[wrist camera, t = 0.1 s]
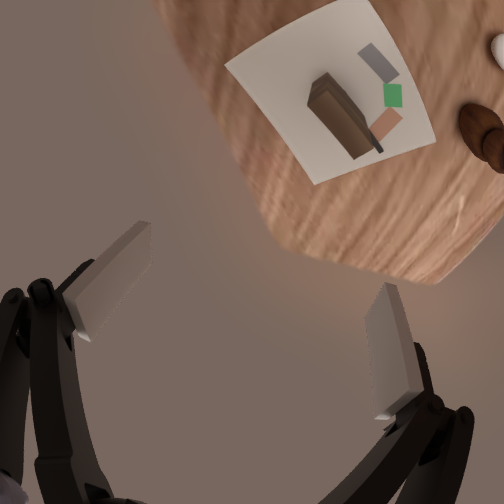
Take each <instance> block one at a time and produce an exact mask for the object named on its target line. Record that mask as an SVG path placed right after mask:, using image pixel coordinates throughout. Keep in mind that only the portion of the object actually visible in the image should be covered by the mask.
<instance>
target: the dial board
mask: <svg viewBox="0 0 504 504" xmlns="http://www.w3.org/2000/svg"><path fill="white" fill-rule="evenodd" d="M225 67H226V68H227V69H228V70H229V71H230V72H231V74H232V75H233V76H234V77H235V78H236V79H237V81H238V82H239V83H240V84H241V86H242V87H243V88H244V89H245V90H246V92H247V93H248V94H249V95H250V97H251V98H252V99H253V100H254V102H255V103H256V104H257V105H258V107H259V108H260V109H261V111H262V112H263V113H264V114H265V116H266V117H267V118H268V120H269V121H270V122H271V124H272V125H273V126H274V128H275V129H276V130H277V132H278V133H279V134H280V136H281V137H282V139H283V140H284V141H285V143H286V144H287V146H288V147H289V148H290V150H291V151H292V153H293V154H294V156H295V157H296V158H297V160H298V161H299V163H300V164H301V166H302V167H303V169H304V170H305V172H306V173H307V175H308V176H309V178H310V179H311V181H312V182H313V184H314V185H316V184H318V183H321V182H323V181H326V180H329V179H331V178H334V177H337V176H339V175H342V174H345V173H347V172H350V171H353V170H356V169H358V168H361V167H364V166H367V165H370V164H372V163H375V162H378V161H381V160H384V159H387V158H389V157H392V156H395V155H398V154H401V153H404V152H407V151H410V150H413V149H416V148H419V147H422V146H425V145H428V144H431V143H435V142H436V139H435V135H434V132H433V129H432V126H431V123H430V120H429V118H428V115H427V112H426V109H425V107H424V104H423V102H422V99H421V97H420V94H419V92H418V90H417V87H416V85H415V83H414V80H413V78H412V76H411V74H410V72H409V70H408V67H407V65H406V63H405V61H404V59H403V57H402V56H401V54H400V52H399V50H398V48H397V46H396V44H395V42H394V41H393V39H392V37H391V35H390V34H389V32H388V30H387V29H386V27H385V25H384V24H383V22H382V21H381V19H380V17H379V16H378V14H377V13H376V11H375V10H374V8H373V7H372V5H371V4H370V3H369V1H368V0H337V1H335V2H332V3H330V4H328V5H325V6H323V7H321V8H319V9H317V10H315V11H313V12H311V13H308V14H306V15H304V16H302V17H301V18H299V19H297V20H295V21H293V22H291V23H289V24H287V25H286V26H284V27H282V28H280V29H278V30H277V31H275V32H273V33H272V34H270V35H268V36H267V37H265V38H263V39H262V40H260V41H259V42H257V43H255V44H254V45H252V46H251V47H249V48H248V49H246V50H245V51H243V52H242V53H240V54H239V55H237V56H236V57H234V58H233V59H232V60H230V61H229V62H227V63H226V64H225ZM326 72H328V73H329V74H330V75H331V76H332V77H333V78H334V80H335V81H336V82H337V83H338V84H339V85H340V86H341V87H342V89H344V90H345V91H346V93H347V95H348V96H349V97H350V98H351V99H352V101H353V102H354V103H355V104H356V106H357V107H358V108H359V109H360V111H361V112H362V113H363V115H364V116H365V119H366V122H367V126H368V128H369V130H370V131H371V132H372V134H373V135H374V137H375V138H376V139H377V141H378V142H379V144H380V145H381V146H382V148H383V150H384V152H382V153H380V154H379V153H378V151H377V150H376V149H375V147H374V146H373V147H374V149H372V150H371V151H369V152H367V153H365V154H364V155H362V156H360V157H358V158H357V159H355V160H353V158H352V157H351V156H350V155H349V153H348V152H347V151H346V150H345V148H344V147H343V146H342V145H341V144H340V142H339V141H338V140H337V139H336V138H335V136H334V135H333V134H332V133H331V132H330V131H329V130H328V128H327V127H326V126H325V125H324V124H323V123H322V122H321V120H320V119H319V118H318V117H317V116H316V115H315V114H314V113H313V112H312V111H311V110H310V109H309V107H308V106H307V102H308V98H309V94H310V90H311V86H312V83H313V82H314V81H315V80H317V79H318V78H319V77H321V76H322V75H324V74H325V73H326Z"/></svg>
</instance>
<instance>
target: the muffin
mask: <svg viewBox="0 0 504 504" xmlns="http://www.w3.org/2000/svg"><path fill="white" fill-rule="evenodd" d="M491 51H492V54H493V56H494V58H495V60H496V61H497V63H498V65H500V67H501V68H502V69H503V70H504V33H502V34H499V35H497V36H496V37H495V38H494V39H493V41H492V42H491Z"/></svg>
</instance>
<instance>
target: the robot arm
mask: <svg viewBox="0 0 504 504" xmlns="http://www.w3.org/2000/svg"><path fill="white" fill-rule="evenodd" d="M151 264H152V250H151V223H148V222H144V221H140V220H139V221H138V222H137V223H135V224H134V225H133V226H132V227H131V228H130V229H129V230H128V231H126V232H125V233H124V234H123V235H122V236H121V237H120V238H118V239H117V240H116V241H115V242H114V243H113V244H112V245H111V246H110V247H109V248H108V249H107V250H105V251H104V252H103V253H102V254H101V255H100V256H99V257H98V258H97V259H96V260H94V259H90V260H88V261H86V262H84V263H82V264H81V265H80V266H79V267H78V268H77V269H76V271H74V272H73V273H72V274H71V276H69V277H68V278H67V279H66V280H65V281H64V282H63V283H62V284H61V285H60V286H59V287H58V288H57V289H56V290H54V288H53V285H52V282H51V281H50V280H49V279H46V278H40V279H37V280H35V281H33V282H32V283H31V284H30V285H29V286H28V289H27V292H28V294H29V297H30V298H29V297H25V295H24V292H23V291H22V290H21V289H20V288H13V289H11V290H9V291H8V292H7V293H5V295H4V296H3V299H2V301H1V303H0V504H25V503H27V502H28V500H29V499H28V495H27V494H26V492H25V491H23V490H22V488H21V484H22V477H23V462H24V432H25V419H26V410H27V402H28V395H29V388H30V390H31V404H32V414H33V422H34V429H35V435H36V441H37V446H38V453H39V455H38V457H37V458H36V460H35V463H34V466H35V472H36V476H37V480H38V483H39V487H40V490H41V494H42V497H43V500H44V503H45V504H146V503H143V502H141V501H136V500H132V499H122V498H114V495H113V493H112V490H111V488H110V485H109V483H108V481H107V479H106V477H105V476H104V474H103V473H102V471H101V469H100V467H99V465H98V461H97V458H96V455H95V452H94V448H93V445H92V441H91V438H90V435H89V430H88V426H87V422H86V418H85V413H84V409H83V404H82V398H81V393H80V387H79V381H78V374H77V368H76V359H75V349H74V338H73V334H72V332H73V331H74V330H75V328H76V330H77V333H78V335H79V336H80V337H82V338H83V339H85V340H87V341H89V342H92V340H93V339H94V338H95V336H96V335H97V333H98V332H99V330H100V329H101V328H102V327H103V325H104V324H105V322H106V321H107V320H108V318H109V317H110V316H111V314H112V313H113V312H114V310H115V309H116V307H118V305H119V304H120V303H121V301H122V300H123V299H124V297H125V296H126V295H127V294H128V292H129V291H130V290H131V288H132V287H133V286H134V285H135V283H136V282H137V281H138V280H139V279H140V277H141V276H142V275H143V273H144V272H145V271H146V270H147V269H148V267H149V266H150V265H151ZM365 324H366V332H367V338H368V347H369V356H370V366H371V376H372V388H373V402H374V403H373V404H374V419H387V420H388V419H389V418H391V417H392V416H393V415H396V421H394V422H393V423H392V424H390V425H389V426H387V427H386V428H385V429H384V431H385V430H387V429H388V430H387V431H386V432H385V434H384V435H383V436H382V437H381V439H380V440H379V441H378V442H377V443H376V445H375V446H374V447H373V448H372V450H371V451H370V452H369V453H368V454H367V455H366V457H365V458H364V459H363V460H362V461H361V462H360V463H359V464H358V465H357V466H356V467H355V469H354V470H353V471H352V472H351V473H350V474H349V475H348V476H347V477H346V478H345V479H344V480H343V481H342V482H341V483H340V484H339V485H338V486H337V487H336V488H335V489H334V490H333V491H332V492H330V493H329V494H328V495H327V496H326V497H325V498H324V499H323V500H322V501H320V502H319V503H318V504H387V503H388V502H389V501H390V500H391V498H392V497H393V496H394V494H395V493H396V492H397V490H398V489H399V487H400V486H401V485H402V484H403V482H404V481H405V480H406V482H405V484H404V486H403V488H402V490H401V492H400V494H399V497H398V499H397V501H396V503H395V504H455V501H456V498H457V495H458V492H459V489H460V486H461V482H462V479H463V476H464V472H465V468H466V464H467V460H468V455H469V451H470V446H471V440H472V435H473V429H474V414H473V412H472V411H471V409H469V408H468V407H466V406H462V407H460V408H459V409H458V410H456V411H454V410H451V409H449V408H446V407H445V405H444V403H443V400H442V399H441V398H440V397H439V396H437V395H435V394H434V391H433V386H432V382H431V377H430V372H429V369H428V365H427V362H426V356H425V353H424V351H423V349H422V347H421V345H420V344H419V343H416V342H413V339H412V335H411V332H410V328H409V324H408V321H407V318H406V314H405V311H404V308H403V304H402V301H401V298H400V295H399V292H398V289H397V286H396V285H393V284H389V283H384V285H383V286H382V288H381V290H380V292H379V294H378V296H377V297H376V299H375V301H374V302H373V304H372V306H371V308H370V309H369V311H368V313H367V315H366V316H365ZM17 330H18V331H17ZM16 333H17V334H16ZM406 478H407V479H406Z"/></svg>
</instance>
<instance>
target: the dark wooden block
mask: <svg viewBox="0 0 504 504" xmlns="http://www.w3.org/2000/svg"><path fill="white" fill-rule="evenodd" d="M307 106H308V107H309V109H310V110H311V111H312V112H313V113H314V114H315V115H316V116H317V117H318V118H319V119H320V120H321V122H322V123H323V124H324V125H325V126H326V127H327V128H328V130H329V131H330V132H331V133H332V134H333V135H334V136H335V138H336V139H337V140H338V141H339V142H340V144H341V145H342V146H343V147H344V148H345V150H346V151H347V152H348V153H349V155H350V156H351V157H352V158H353V160H355V159H357V158H358V157H360V156H362V155H364V154H365V153H367V152H369V151H371V150H372V149H374V147H375V149H376V150H377V151H378V153H379V154H380V153H382V152H384V150H383V148H382V146H381V145H380V144H379V142H378V141H377V139H376V138H375V137H374V135H373V134H372V132H371V131H370V130H369V128H368V126H367V122H366V119H365V116H364V115H363V113H362V112H361V111H360V109H359V108H358V107H357V106H356V104H355V103H354V102H353V101H352V99H351V98H350V97H349V96H348V95H347V93H346V91H345V90H344V89H342V87H341V86H340V85H339V84H338V83H337V82H336V81H335V80H334V78H333V77H332V76H331V75H330V74H329V73H328V72H326V73H325V74H324V75H322V76H321V77H319V78H318V79H317V80H315V81H314V82H313V83H312V86H311V90H310V94H309V98H308V102H307ZM373 146H374V147H373Z"/></svg>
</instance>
